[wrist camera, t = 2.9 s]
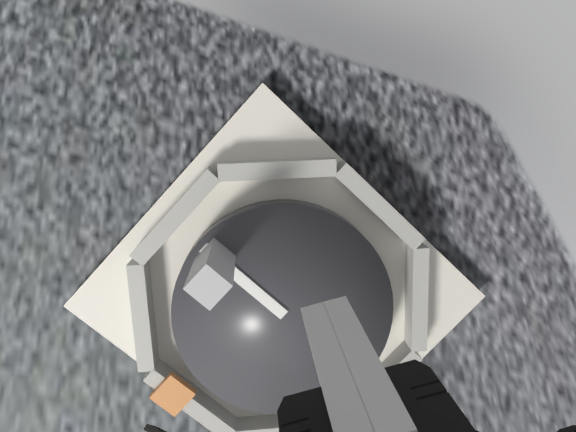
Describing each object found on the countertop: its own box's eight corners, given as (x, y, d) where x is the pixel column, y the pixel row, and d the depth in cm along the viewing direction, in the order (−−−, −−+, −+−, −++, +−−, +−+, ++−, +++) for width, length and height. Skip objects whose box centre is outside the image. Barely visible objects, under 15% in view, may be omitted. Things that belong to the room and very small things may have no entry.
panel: (478, 290, 39) (500, 308, 36) (293, 474, 41) (297, 507, 38) (262, 83, 34) (263, 80, 31) (66, 303, 37) (46, 323, 33)
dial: (425, 292, 37) (475, 342, 29) (287, 432, 39) (297, 516, 31) (275, 153, 34) (284, 165, 26) (131, 311, 36) (96, 370, 27)
